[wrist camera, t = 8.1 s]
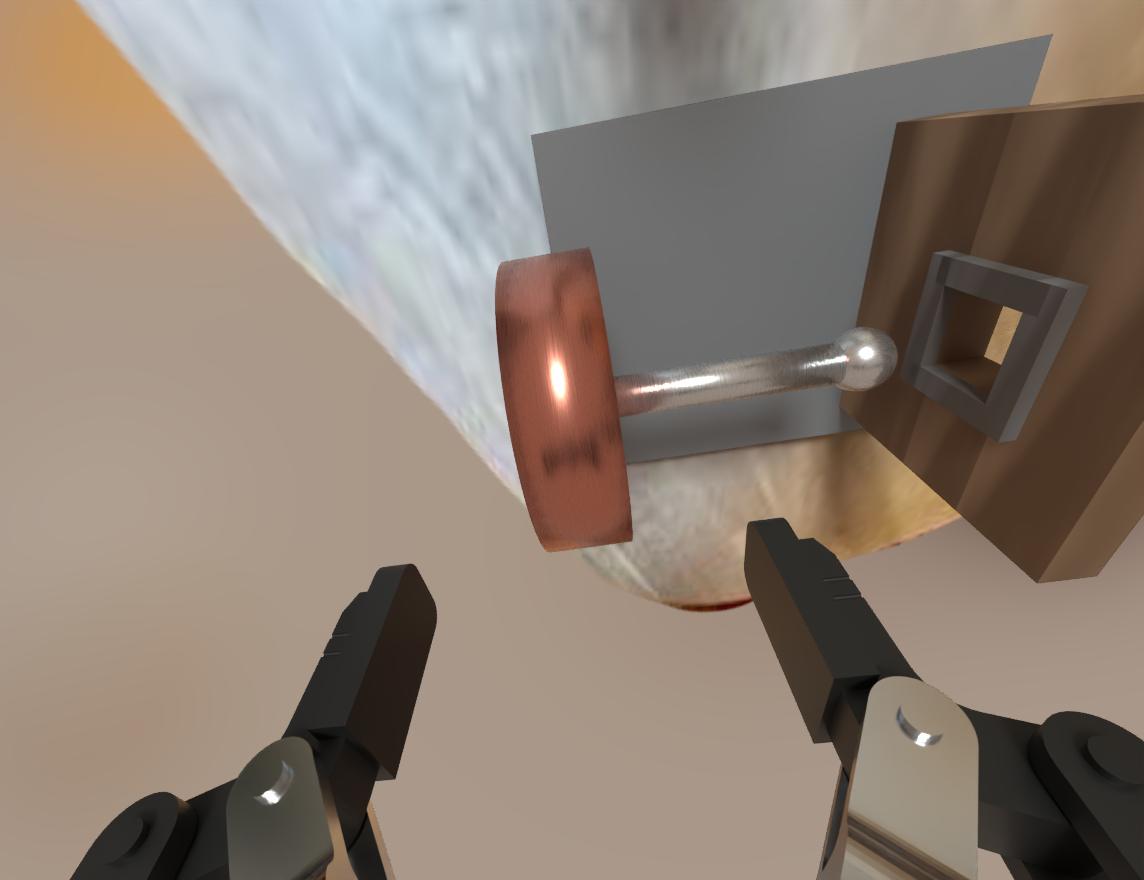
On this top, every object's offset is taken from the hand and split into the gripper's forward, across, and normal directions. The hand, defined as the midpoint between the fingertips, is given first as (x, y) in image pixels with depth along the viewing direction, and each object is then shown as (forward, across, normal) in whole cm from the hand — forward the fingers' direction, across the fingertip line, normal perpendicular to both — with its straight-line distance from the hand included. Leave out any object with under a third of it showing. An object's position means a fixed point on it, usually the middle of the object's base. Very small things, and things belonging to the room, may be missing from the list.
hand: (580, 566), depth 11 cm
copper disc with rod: (+14, -5, 0) cm, 15 cm away
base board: (+17, -10, 0) cm, 20 cm away
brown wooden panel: (+16, -16, 0) cm, 22 cm away
